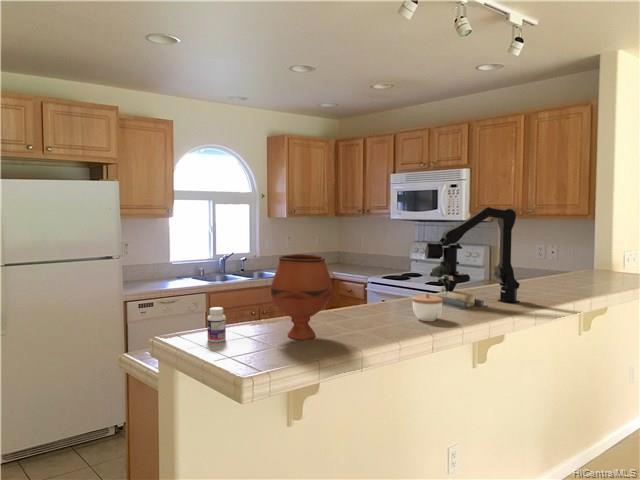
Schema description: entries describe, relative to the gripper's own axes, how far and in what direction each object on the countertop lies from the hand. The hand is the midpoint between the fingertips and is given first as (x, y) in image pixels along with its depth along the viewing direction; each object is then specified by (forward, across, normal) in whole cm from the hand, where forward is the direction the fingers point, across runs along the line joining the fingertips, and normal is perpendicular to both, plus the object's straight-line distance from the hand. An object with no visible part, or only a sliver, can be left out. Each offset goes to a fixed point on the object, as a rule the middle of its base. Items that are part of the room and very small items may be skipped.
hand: (448, 295), depth 219 cm
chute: (+2, +7, 0) cm, 7 cm away
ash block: (+3, +6, +1) cm, 7 cm away
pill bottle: (+3, +17, -107) cm, 108 cm away
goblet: (+3, +24, -82) cm, 85 cm away
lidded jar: (+3, +23, -31) cm, 39 cm away
